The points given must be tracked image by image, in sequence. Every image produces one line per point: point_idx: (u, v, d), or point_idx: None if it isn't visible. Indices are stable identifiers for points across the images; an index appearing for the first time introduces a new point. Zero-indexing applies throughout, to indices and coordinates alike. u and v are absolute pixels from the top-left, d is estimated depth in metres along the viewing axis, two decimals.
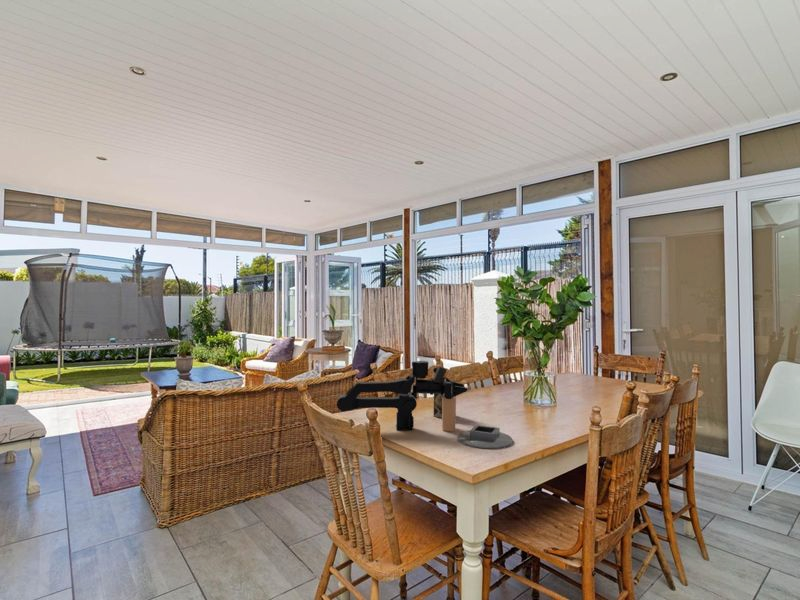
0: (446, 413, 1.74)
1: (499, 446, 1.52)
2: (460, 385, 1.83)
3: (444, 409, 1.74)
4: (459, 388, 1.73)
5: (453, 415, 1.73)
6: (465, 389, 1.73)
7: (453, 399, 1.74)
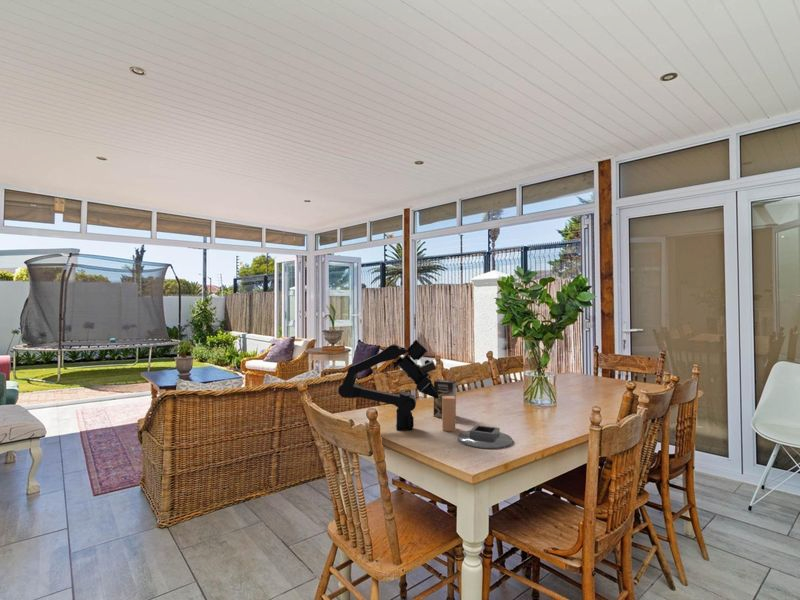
0: (446, 413, 1.74)
1: (499, 446, 1.52)
2: (435, 391, 1.81)
3: (444, 409, 1.74)
4: (432, 390, 1.71)
5: (453, 415, 1.73)
6: (436, 395, 1.72)
7: (453, 399, 1.73)
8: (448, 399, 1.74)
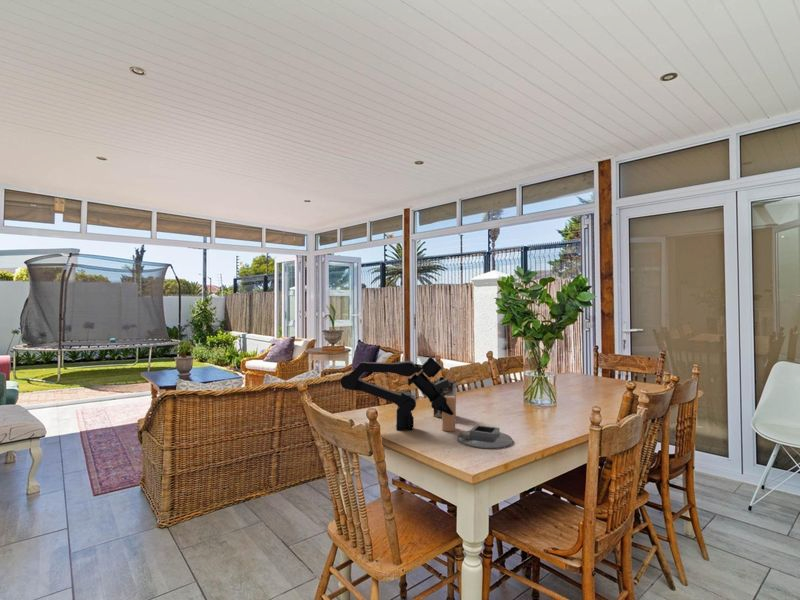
0: (446, 413, 1.74)
1: (499, 446, 1.52)
2: None
3: None
4: (447, 407, 1.72)
5: (453, 415, 1.73)
6: (450, 412, 1.73)
7: (453, 398, 1.74)
8: (448, 399, 1.74)
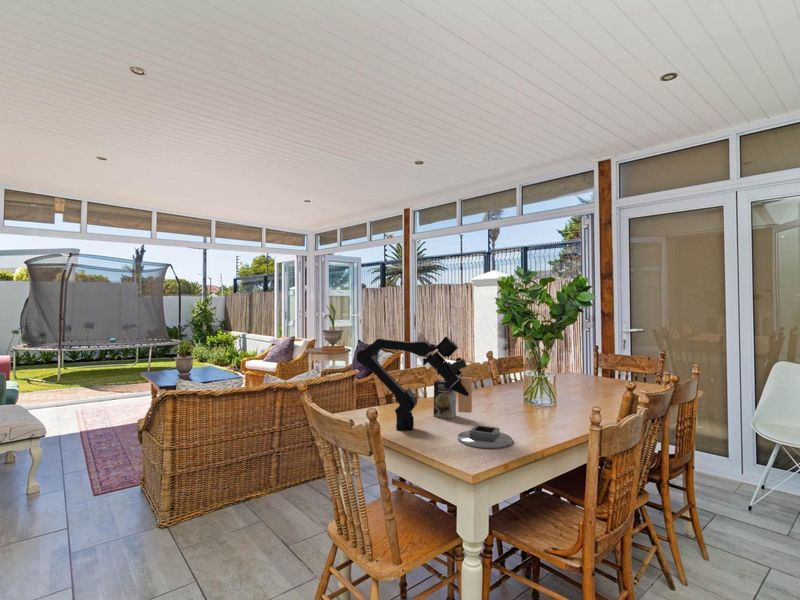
0: (462, 394, 1.69)
1: (499, 446, 1.52)
2: None
3: None
4: (462, 388, 1.68)
5: (469, 396, 1.69)
6: (466, 393, 1.68)
7: (468, 379, 1.69)
8: (463, 380, 1.69)
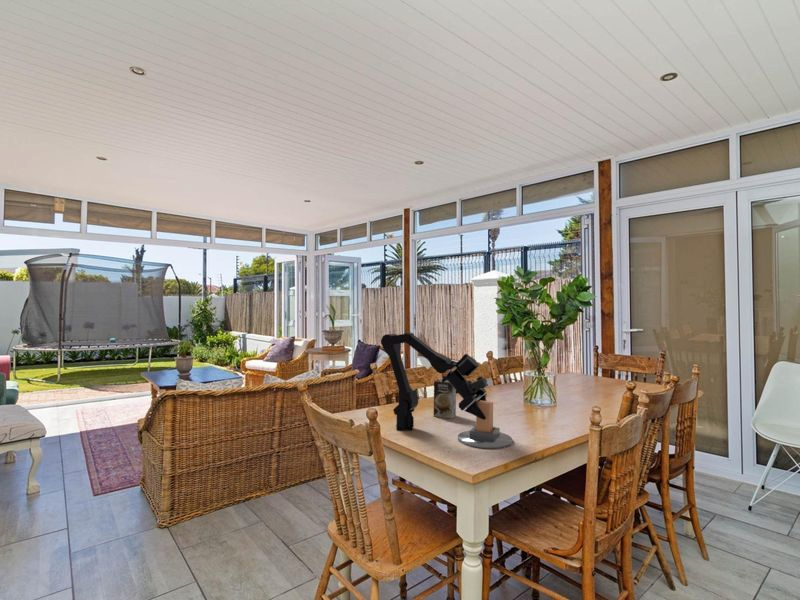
0: (480, 419, 1.60)
1: (499, 446, 1.52)
2: None
3: None
4: (478, 411, 1.57)
5: (487, 422, 1.59)
6: (482, 416, 1.57)
7: (487, 404, 1.59)
8: (482, 404, 1.60)
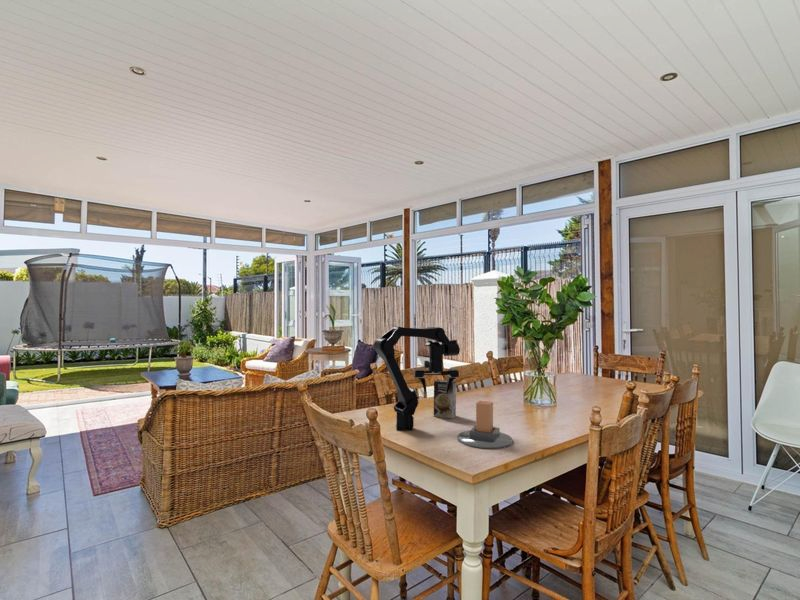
0: (480, 419, 1.60)
1: (499, 446, 1.52)
2: (425, 390, 1.84)
3: (477, 415, 1.60)
4: None
5: (487, 422, 1.59)
6: None
7: (486, 404, 1.59)
8: (482, 404, 1.60)
